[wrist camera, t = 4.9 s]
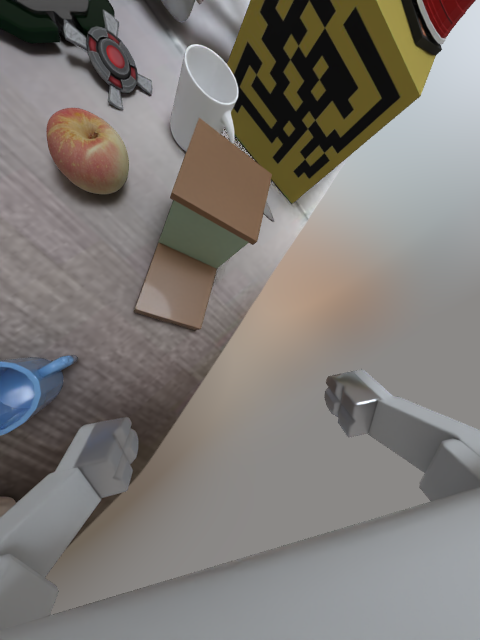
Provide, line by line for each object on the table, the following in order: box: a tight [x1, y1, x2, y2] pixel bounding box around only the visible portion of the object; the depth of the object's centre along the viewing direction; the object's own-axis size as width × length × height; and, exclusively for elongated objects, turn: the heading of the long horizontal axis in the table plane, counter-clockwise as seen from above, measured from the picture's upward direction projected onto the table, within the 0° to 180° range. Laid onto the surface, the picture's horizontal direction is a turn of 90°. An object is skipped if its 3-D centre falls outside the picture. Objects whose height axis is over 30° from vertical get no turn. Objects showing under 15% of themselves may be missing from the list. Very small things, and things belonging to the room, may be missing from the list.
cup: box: [0, 355, 78, 435], centre depth 22 cm, size 9×6×9 cm
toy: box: [64, 10, 152, 110], centre depth 32 cm, size 12×12×1 cm
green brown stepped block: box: [134, 118, 272, 330], centre depth 30 cm, size 11×21×15 cm, turn 167°
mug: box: [170, 44, 238, 152], centre depth 36 cm, size 9×12×11 cm
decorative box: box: [227, 0, 435, 203], centre depth 43 cm, size 26×37×30 cm
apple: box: [47, 108, 129, 194], centre depth 28 cm, size 9×9×8 cm
